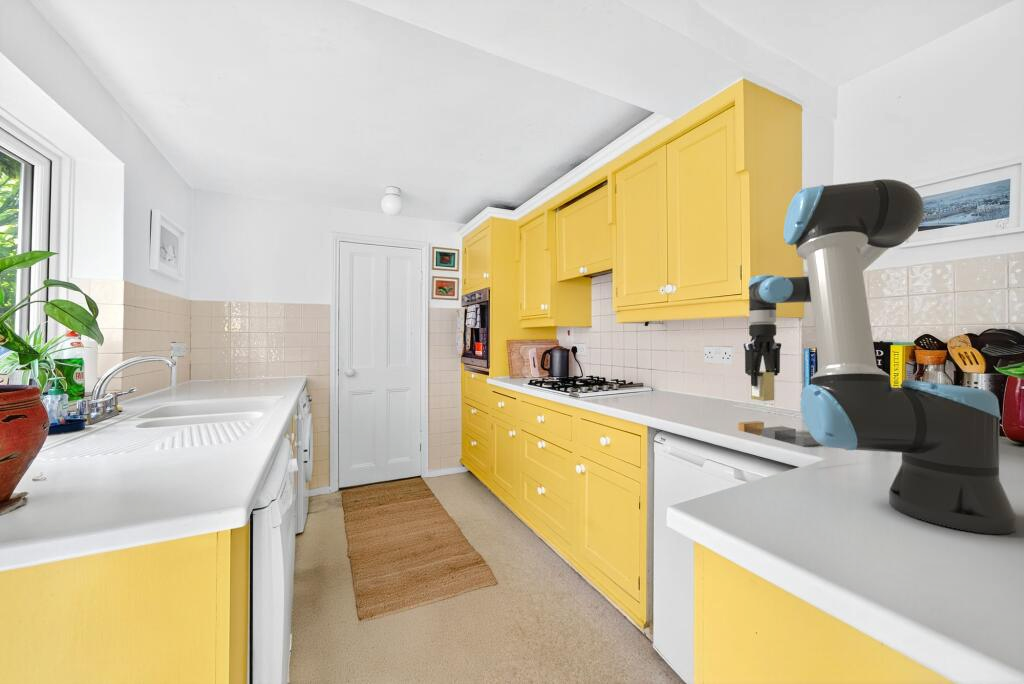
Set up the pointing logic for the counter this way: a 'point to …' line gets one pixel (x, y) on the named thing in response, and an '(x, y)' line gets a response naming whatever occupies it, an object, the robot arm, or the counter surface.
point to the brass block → (765, 386)
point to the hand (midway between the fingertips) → (762, 395)
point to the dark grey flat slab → (777, 433)
